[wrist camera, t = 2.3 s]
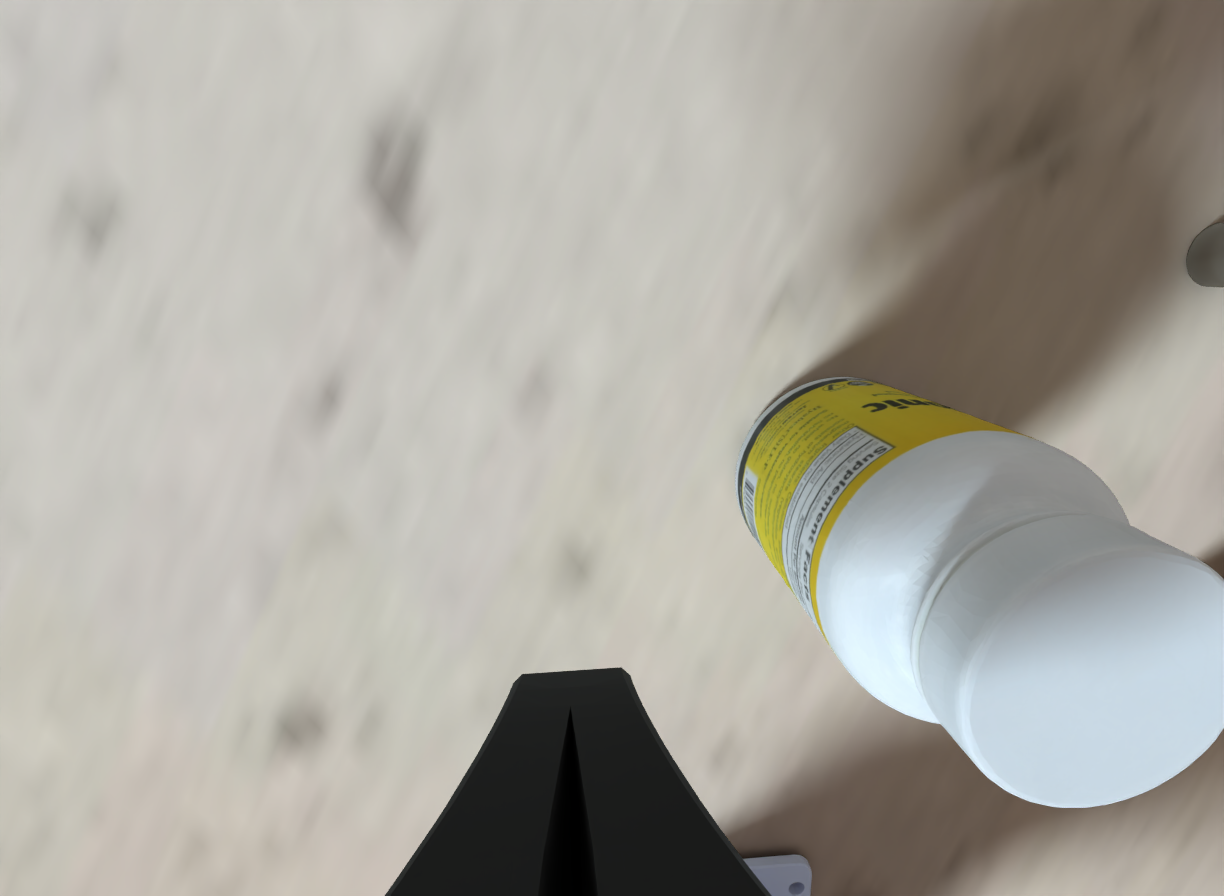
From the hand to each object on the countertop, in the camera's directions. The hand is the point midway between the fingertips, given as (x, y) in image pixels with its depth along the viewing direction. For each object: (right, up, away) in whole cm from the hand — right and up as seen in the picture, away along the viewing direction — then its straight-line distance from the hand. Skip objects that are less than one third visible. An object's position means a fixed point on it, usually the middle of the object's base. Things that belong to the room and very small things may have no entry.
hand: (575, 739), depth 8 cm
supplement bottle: (+6, +3, +10) cm, 12 cm away
